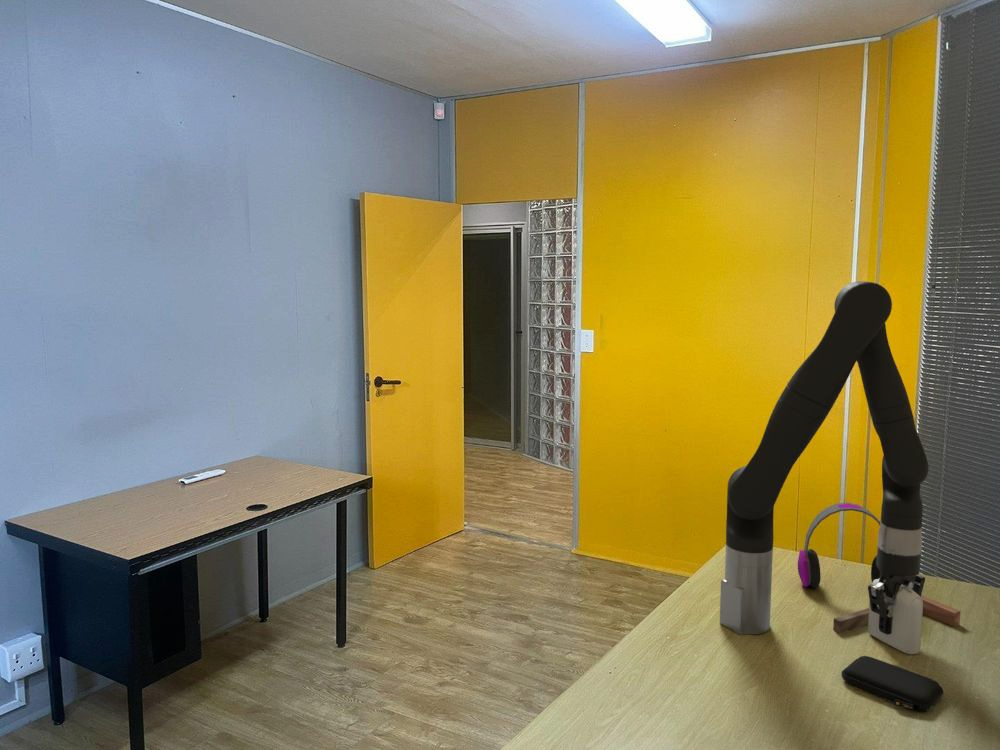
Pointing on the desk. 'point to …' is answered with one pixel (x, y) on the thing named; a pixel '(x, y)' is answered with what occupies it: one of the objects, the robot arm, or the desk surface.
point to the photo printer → (901, 622)
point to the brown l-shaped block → (929, 609)
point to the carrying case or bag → (893, 683)
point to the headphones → (809, 558)
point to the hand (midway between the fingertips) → (893, 629)
